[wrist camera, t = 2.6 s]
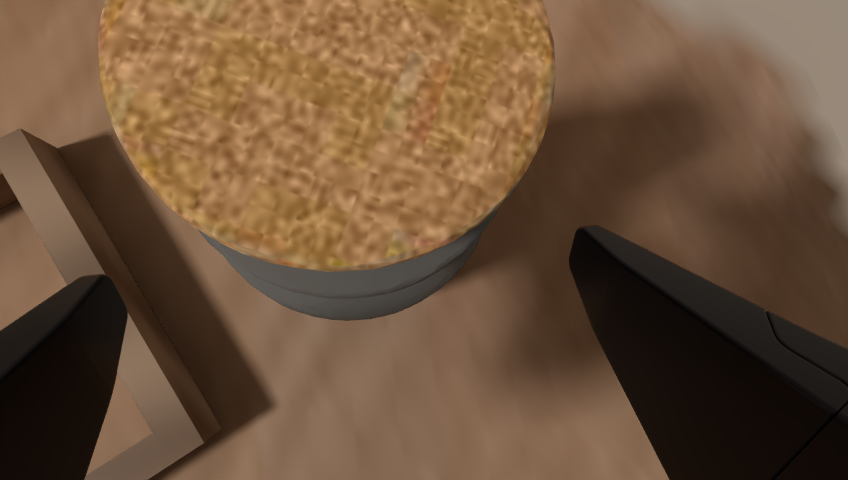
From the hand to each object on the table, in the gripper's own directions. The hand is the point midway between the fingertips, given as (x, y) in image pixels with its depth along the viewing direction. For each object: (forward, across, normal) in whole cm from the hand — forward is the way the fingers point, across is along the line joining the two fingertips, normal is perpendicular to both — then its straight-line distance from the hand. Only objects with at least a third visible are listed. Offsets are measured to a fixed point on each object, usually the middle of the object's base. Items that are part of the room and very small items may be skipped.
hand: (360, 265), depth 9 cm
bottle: (+9, 0, +6) cm, 11 cm away
